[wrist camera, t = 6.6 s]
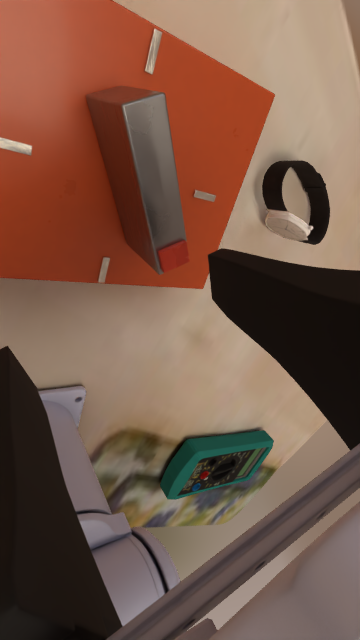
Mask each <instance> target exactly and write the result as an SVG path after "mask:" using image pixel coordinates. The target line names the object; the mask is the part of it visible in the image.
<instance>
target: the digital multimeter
mask: <svg viewBox="0 0 360 640" xmlns="http://www.w3.org/2000/svg"><path fill="white" fill-rule="evenodd" d="M273 442H274V440H273V439H272V438H271V437H270V436H269V435H268V434H267V433H266V431H264V430H263V431H252V432H244V433H235V434H227V435H218V436H209V437H200V438H192V439H186V441H185V442H184V444H183V445H182V446H181V448H180V449H179V451H178V452H177V453H176V455H175V456H174V458H173V459H172V460H171V462H170V464H169V465H168V467H167V469H166V471H165V473H164V476H163V478H162V481H161V484H160V486H161V488H162V490H163V492H164V494H165V495H166V497H167V499H179V498H182V497H186V496H189V495H192V494H196V493H200V492H203V491H207V490H210V489H214V488H218V487H222V486H226V485H230V484H234V483H239V482H243V481H247V480H249V479H250V478H251V477H252V475H253V474H254V473H255V472H256V470H257V469H258V468H259V466H260V465H261V464H262V462H263V461H264V459H265V458H266V456H267V455H268V453H269V452H270V450H271V449H272V446H273Z"/></svg>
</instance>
